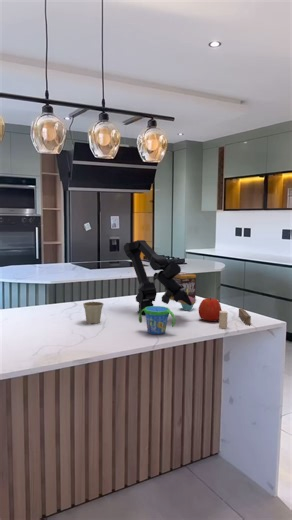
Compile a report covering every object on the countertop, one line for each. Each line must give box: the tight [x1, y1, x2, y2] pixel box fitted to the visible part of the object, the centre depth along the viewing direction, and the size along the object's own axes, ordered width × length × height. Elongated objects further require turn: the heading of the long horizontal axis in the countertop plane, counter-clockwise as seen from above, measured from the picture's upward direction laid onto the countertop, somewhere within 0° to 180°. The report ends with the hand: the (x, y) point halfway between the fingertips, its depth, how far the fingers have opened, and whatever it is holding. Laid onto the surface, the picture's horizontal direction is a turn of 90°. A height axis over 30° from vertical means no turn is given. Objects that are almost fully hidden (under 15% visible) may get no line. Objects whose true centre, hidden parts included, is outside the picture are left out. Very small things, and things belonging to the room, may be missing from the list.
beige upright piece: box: [217, 310, 228, 329], centre depth 182 cm, size 3×28×7 cm, turn 178°
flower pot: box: [82, 301, 104, 325], centre depth 178 cm, size 9×9×9 cm
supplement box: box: [170, 271, 197, 303], centre depth 231 cm, size 10×15×16 cm
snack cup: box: [138, 305, 176, 335], centre depth 162 cm, size 16×10×10 cm
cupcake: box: [178, 289, 196, 311], centre depth 205 cm, size 9×8×12 cm
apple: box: [198, 297, 223, 322], centre depth 182 cm, size 11×11×11 cm
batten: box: [238, 308, 252, 326], centre depth 182 cm, size 2×16×4 cm, turn 178°
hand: (191, 305), depth 182 cm, fingers closed
